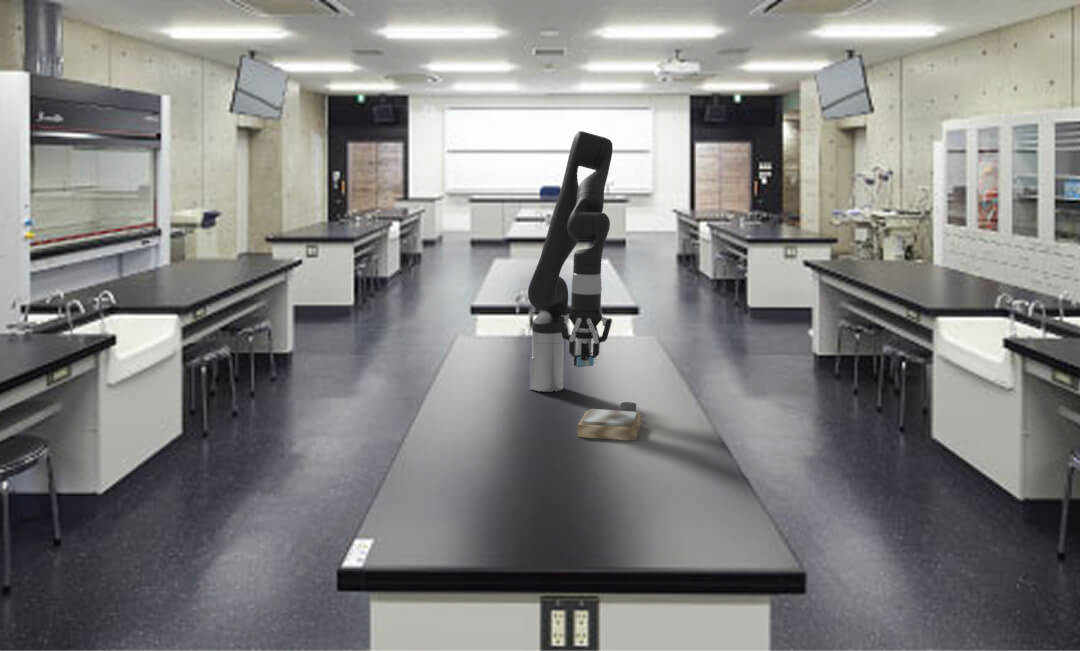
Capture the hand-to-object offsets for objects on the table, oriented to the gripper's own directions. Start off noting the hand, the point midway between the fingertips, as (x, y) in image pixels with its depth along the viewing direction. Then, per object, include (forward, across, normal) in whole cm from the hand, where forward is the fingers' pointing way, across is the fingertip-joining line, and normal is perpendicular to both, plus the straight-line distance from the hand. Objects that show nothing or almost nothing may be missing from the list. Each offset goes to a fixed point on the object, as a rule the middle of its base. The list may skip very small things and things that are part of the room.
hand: (584, 356), depth 247 cm
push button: (+3, +1, 0) cm, 3 cm away
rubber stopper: (+16, +12, +3) cm, 20 cm away
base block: (+16, +9, -10) cm, 21 cm away
